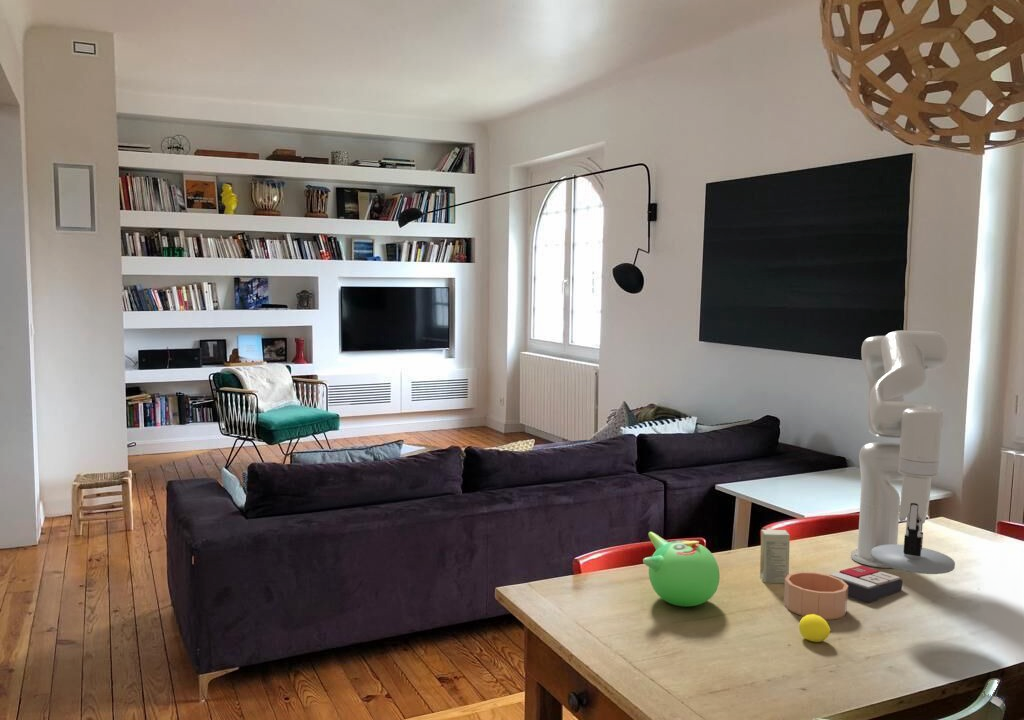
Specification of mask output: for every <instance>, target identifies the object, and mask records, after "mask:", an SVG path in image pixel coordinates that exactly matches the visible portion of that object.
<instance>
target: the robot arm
mask: <svg viewBox="0 0 1024 720" xmlns="http://www.w3.org/2000/svg"><path fill="white" fill-rule="evenodd" d="M860 353H861V361H862V365H863V369H864V372H865V375H866V378H867V382H868V391H867V396H868V397H867V410H866V411H867V412H866V413H867V416H866V422H867V423H866V424H867V425H866V427H867V430H868V432H869V433H870V434H871V435H873V436H875V437H880V438H890V439H899V440H900V442H899V443H897V442H883V441H882V442H881V441H875V442H868V443H865V444H864V445H863V446H862V447H861V448H860V450H859V454H858V458H859V459H858V460H859V461H858V462H859V470H860V500H859V501H860V503H859V504H860V505H859V520H858V535H857V536H858V537H857V549H854V550H852V551H851V552H850V558H851V559H852V560H853V561H855V562H856V563H859V564H863V565H864V566H865V565H866V566H869V567H874V568H883V569H889V568H890V569H892V568H891V567H888V566H885V565H883V564H880V563H879V562H877V561H875V560H874V559H873V558H872V557H871V550H872V549H873V548H874V547H876V546H880V545H889V544H897V545H898V541H899V539H898V536H899V522H903V521H906V526H905V533H906V535H905V534H904V541H903V545H904V554H908V555H914V556H920V554H921V550H922V548H923V545H922V546H921V541H922V542H923V539H924V532H923V527H924V526H923V525H924V524H925V523H926V520H927V516H928V512H929V505H930V499H931V489H932V487H931V486H932V479H935V478H938V477H939V469H940V468H939V467H940V454H941V453H940V452H941V451H940V450H941V439H942V438H941V437H942V430H943V427H944V414H943V411H941V409H940V408H939V406H938V405H936V404H934V403H927V402H914V401H905V398H904V397H905V395H909V394H912V393H914V392H916V391H918V390H919V389H921V388H922V387H923V386H924V385H925V384H926V383H925V382H926V380H927V371H928V372H929V371H933V370H937V369H939V368H942V367H943V366H945V364H946V363H947V360H948V358H949V345H948V341H947V339H946V337H945V336H944V334H942V333H940V332H938V331H934V330H933V331H930V330H904V329H903V330H895V331H891V332H888V333H887V334H885V335H875V336H870V337H867V338H866V339H864V341H862V345H861V352H860ZM891 481H902V483H901V490H900V491H901V494H900V495H899V492H898V491H897V489H896V488H895V486H893V484H892V483H891ZM921 534H922V537H920V535H921Z"/></svg>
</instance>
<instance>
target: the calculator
mask: <svg viewBox="0 0 1024 720" xmlns="http://www.w3.org/2000/svg"><path fill="white" fill-rule="evenodd" d="M829 575H831V576H833V577H836V578H839V579H841V580H843V581H844V582H845V583H846V584H847V585H848V598H851V599H853V600H856V601H859V602H861V603H865V604H871V603H874V602H876V601H878V600H879V599H881V598H884V597H888V596H892V595H893V594H897V593H899V592H901V591H902V589H903V579H902V578H901V577H900V576H898V575H894V574H891V573H888V572H884V571H880V570H879V569H875V568H872V567H870V566H869V567H868V566H865V565H857V566H853V567H850V568H847V569H842V570H839V571H836V572H832V573H830V574H829Z"/></svg>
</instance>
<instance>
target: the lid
mask: <svg viewBox="0 0 1024 720" xmlns="http://www.w3.org/2000/svg"><path fill="white" fill-rule="evenodd" d="M905 535H906V532H905V534H904V536H905ZM920 537H922V534H921V535H920ZM921 546H922V550H921V554H920V556H914V555H908V554H904V544H898V543H897V544H889V545H880V546H876V547H874V548H873V549H872V550H871V557H872V558H873V559H874V560H875V561H877V562H879V563H880V564H883V565H885V566H888V567H891V568H890V569H894V570H899V571H902V572H909V573H915V574H921V575H922V574H924V575H940V574H941V575H942V574H947V573H950V572H953V571H954V570H955V567H956V562H955V560H954V559H953V558H951V557H950V556H948V555H947V554H944V553H942V552H940V551H938V550H937V551H936V550H934V549H931V548H926V547H923V541H921Z"/></svg>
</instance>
